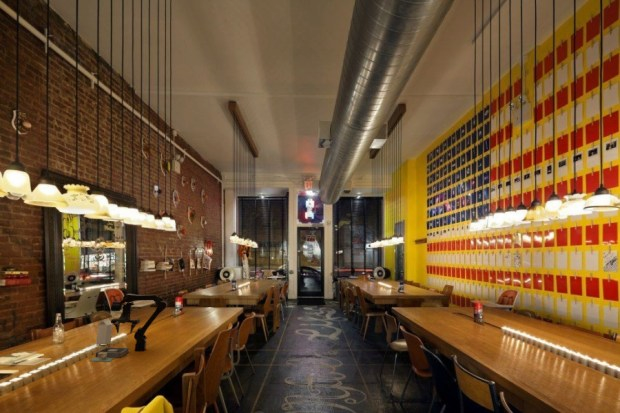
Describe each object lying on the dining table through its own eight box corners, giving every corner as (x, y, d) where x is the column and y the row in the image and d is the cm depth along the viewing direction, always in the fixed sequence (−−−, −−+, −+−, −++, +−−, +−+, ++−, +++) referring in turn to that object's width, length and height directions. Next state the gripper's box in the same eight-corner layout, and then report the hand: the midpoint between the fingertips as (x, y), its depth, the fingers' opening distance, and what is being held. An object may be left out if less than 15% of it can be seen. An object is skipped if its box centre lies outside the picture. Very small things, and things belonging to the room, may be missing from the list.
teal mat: (113, 358, 258) (113, 358, 258) (108, 361, 251) (109, 361, 252) (95, 358, 258) (95, 357, 258) (90, 361, 251) (90, 360, 251)
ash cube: (106, 358, 257) (107, 352, 257) (103, 360, 253) (104, 353, 253) (100, 358, 257) (101, 352, 257) (97, 360, 253) (98, 353, 253)
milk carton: (110, 343, 296) (113, 318, 298) (104, 345, 288) (107, 319, 291) (101, 343, 296) (104, 317, 298) (96, 345, 289) (98, 319, 291)
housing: (128, 352, 275) (128, 348, 275) (119, 357, 261) (120, 353, 261) (105, 351, 274) (105, 347, 274) (95, 357, 260) (96, 352, 261)
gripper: (108, 312, 274) (106, 335, 272) (135, 313, 275) (133, 336, 273) (115, 310, 285) (113, 331, 283) (141, 311, 286) (138, 332, 285)
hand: (124, 333), depth 281 cm, fingers open, 9 cm apart
